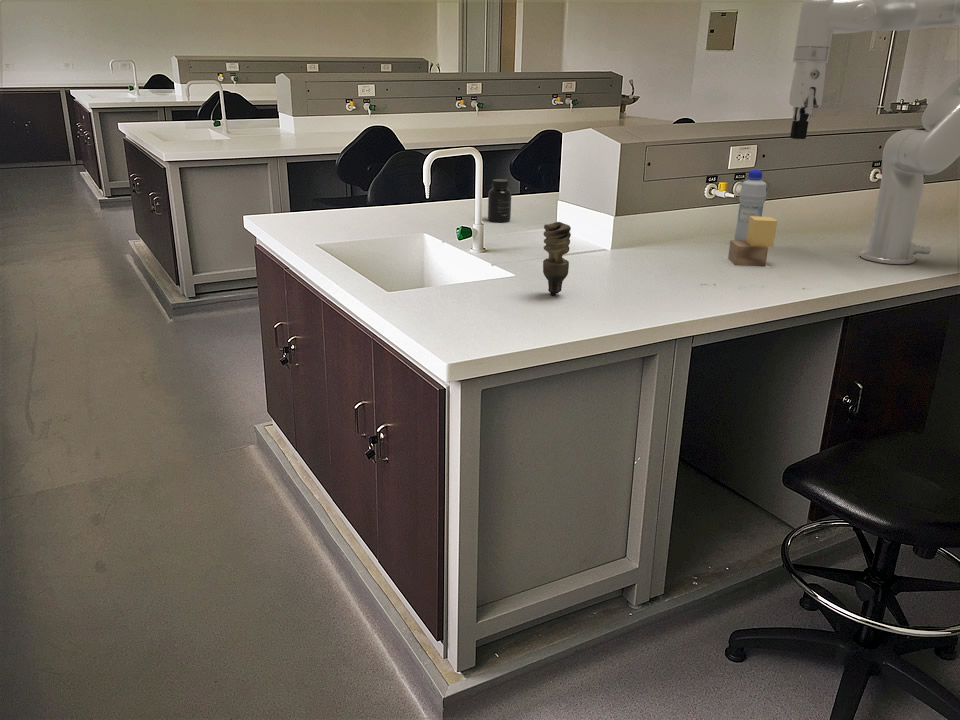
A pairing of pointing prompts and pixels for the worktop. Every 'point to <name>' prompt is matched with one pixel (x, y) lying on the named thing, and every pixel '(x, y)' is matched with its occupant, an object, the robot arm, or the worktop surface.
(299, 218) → the worktop surface
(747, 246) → the walnut block
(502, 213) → the supplement bottle
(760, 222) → the ochre block
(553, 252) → the light bulb
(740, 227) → the bottle
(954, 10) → the robot arm
